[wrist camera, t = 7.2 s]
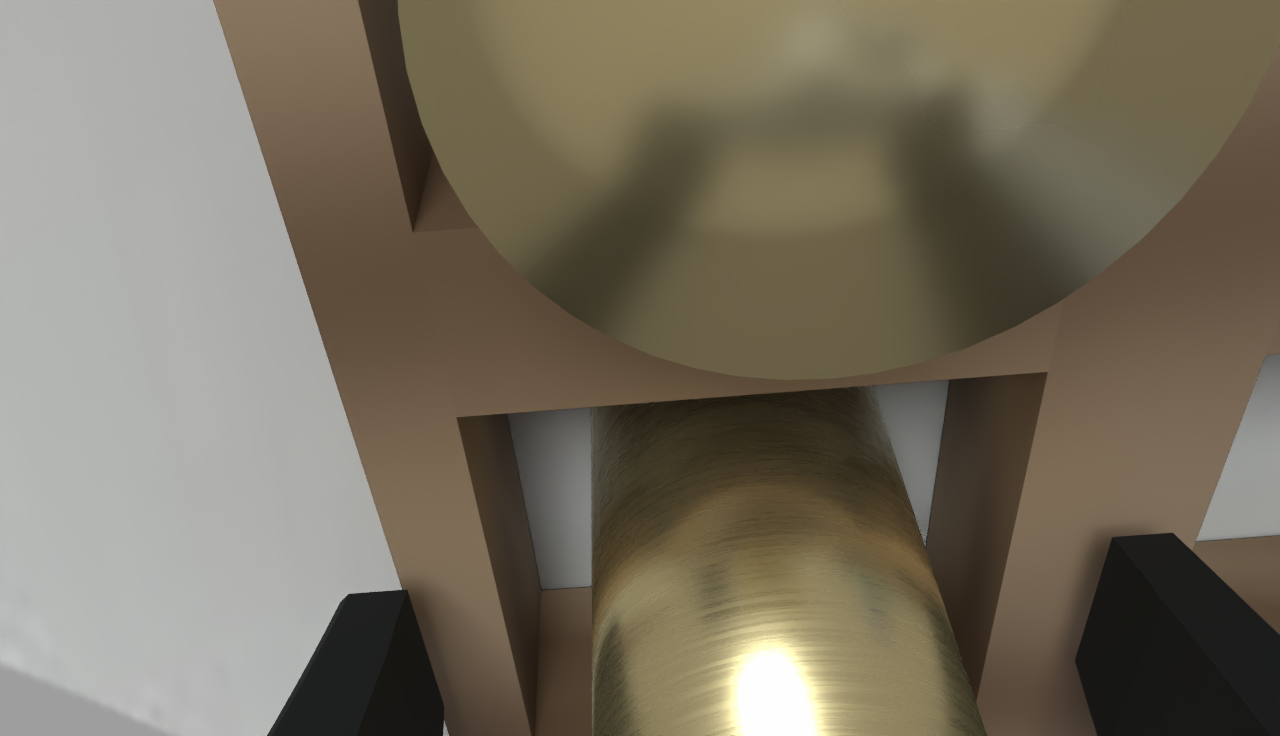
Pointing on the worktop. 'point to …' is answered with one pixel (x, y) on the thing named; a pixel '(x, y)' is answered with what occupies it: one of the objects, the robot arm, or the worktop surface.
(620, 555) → the brass billet
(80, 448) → the worktop surface
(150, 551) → the worktop surface
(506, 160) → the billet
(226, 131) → the worktop surface
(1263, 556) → the wooden grid frame
